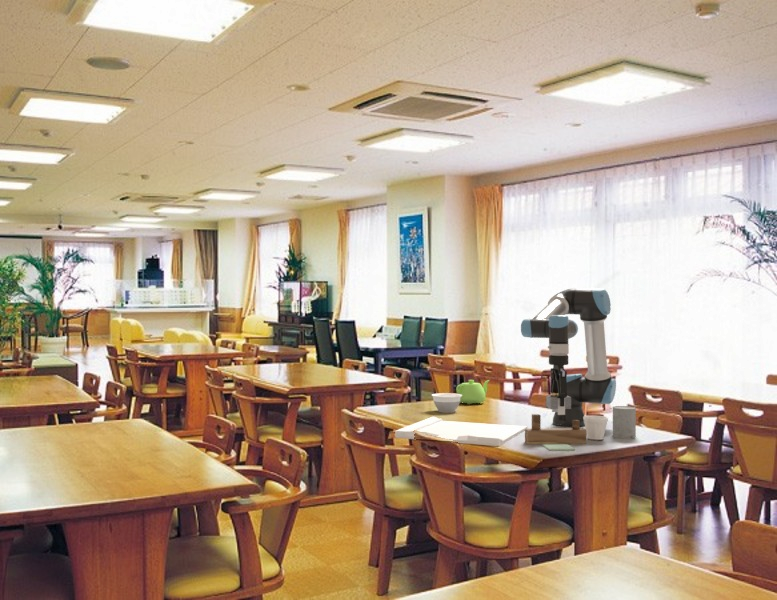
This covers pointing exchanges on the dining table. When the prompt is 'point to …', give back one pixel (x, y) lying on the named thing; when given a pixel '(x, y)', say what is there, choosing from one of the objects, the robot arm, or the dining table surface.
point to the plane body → (554, 433)
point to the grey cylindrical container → (624, 422)
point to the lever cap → (556, 401)
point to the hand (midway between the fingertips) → (558, 413)
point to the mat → (557, 447)
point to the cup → (595, 426)
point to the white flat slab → (462, 431)
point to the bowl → (446, 401)
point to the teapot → (472, 392)
